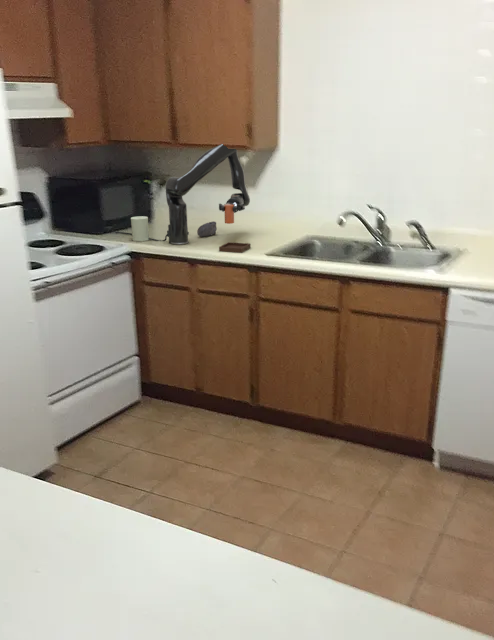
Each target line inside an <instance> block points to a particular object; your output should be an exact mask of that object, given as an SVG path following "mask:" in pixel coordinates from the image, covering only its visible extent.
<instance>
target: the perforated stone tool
mask: <svg viewBox="0 0 494 640" xmlns="http://www.w3.org/2000/svg"><path fill="white" fill-rule="evenodd" d="M217 228H218V227H217V221H209V222H205V223H203V224H202V225H200V226H199V227H197V231H196V234H197V236H198V237H201V238H204V237H210V236H212V235H213V236H214V235H215V234H216V233H217Z"/></svg>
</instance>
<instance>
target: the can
mask: <svg viewBox="0 0 494 640" xmlns="http://www.w3.org/2000/svg"><path fill="white" fill-rule="evenodd" d="M130 224H131V225H130V226H131V233H132V235H131V237H132V241H133V242H147V241H150V240H149V238H150V231H149V229H150V228H149V217H148V216H145V215H143V216H142V215H141V216H140V215H139V216H132V217H130Z"/></svg>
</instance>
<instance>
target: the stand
mask: <svg viewBox="0 0 494 640" xmlns="http://www.w3.org/2000/svg"><path fill="white" fill-rule="evenodd" d="M251 246H252V245H251V243H246V242H235V241H233V242H232V241H228V242H226V243H224V244H222V245H220V246H218V252H225V253H237V254H243V253H245V252H247V251H248V250H251V248H252V247H251Z"/></svg>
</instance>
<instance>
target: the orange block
mask: <svg viewBox="0 0 494 640" xmlns="http://www.w3.org/2000/svg"><path fill="white" fill-rule="evenodd" d="M224 204H225V205H224ZM224 204H223V205H224V224H228V225H231V224H235V213H234V212H233V207H234V204H226V203H224Z"/></svg>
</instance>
